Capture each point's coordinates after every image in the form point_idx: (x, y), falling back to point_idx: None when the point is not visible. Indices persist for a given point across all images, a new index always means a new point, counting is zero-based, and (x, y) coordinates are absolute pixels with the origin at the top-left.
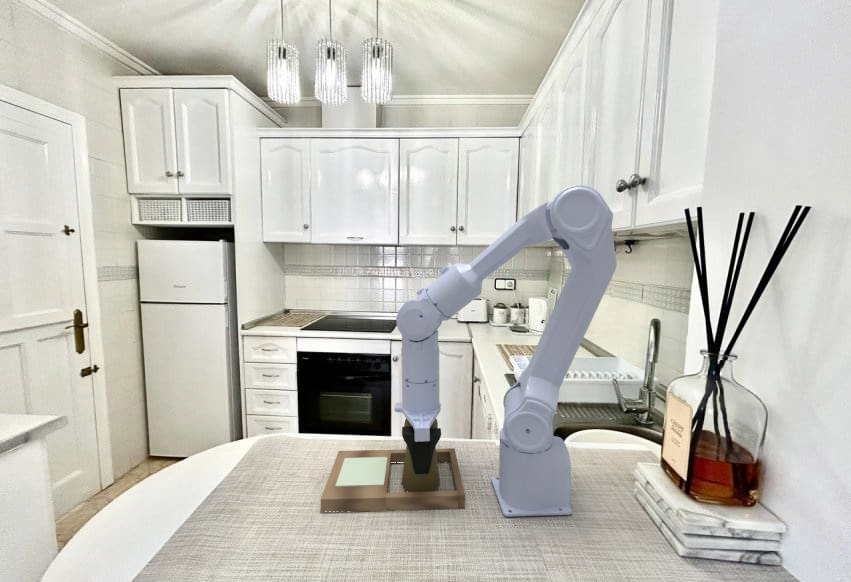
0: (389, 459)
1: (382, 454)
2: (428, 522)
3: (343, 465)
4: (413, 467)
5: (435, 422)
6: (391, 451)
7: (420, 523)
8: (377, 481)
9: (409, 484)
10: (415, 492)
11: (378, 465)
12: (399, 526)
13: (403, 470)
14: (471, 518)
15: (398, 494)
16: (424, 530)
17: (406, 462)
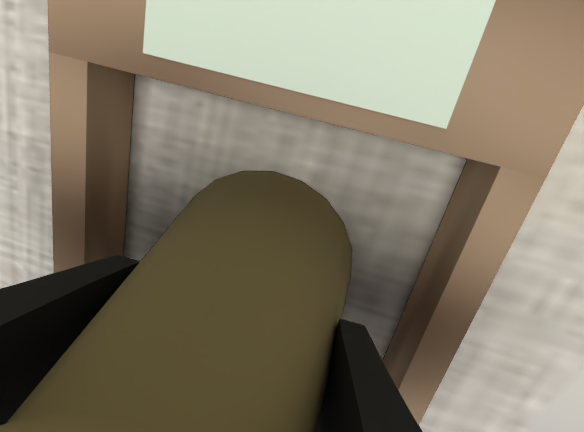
0: (420, 140)
1: (510, 98)
2: (40, 216)
3: None
4: (79, 266)
5: None
6: (519, 174)
7: (35, 187)
8: (179, 11)
9: (190, 204)
10: (78, 214)
11: (359, 42)
12: (21, 104)
13: (247, 201)
14: None
15: (68, 127)
16: (5, 192)
17: (185, 238)
